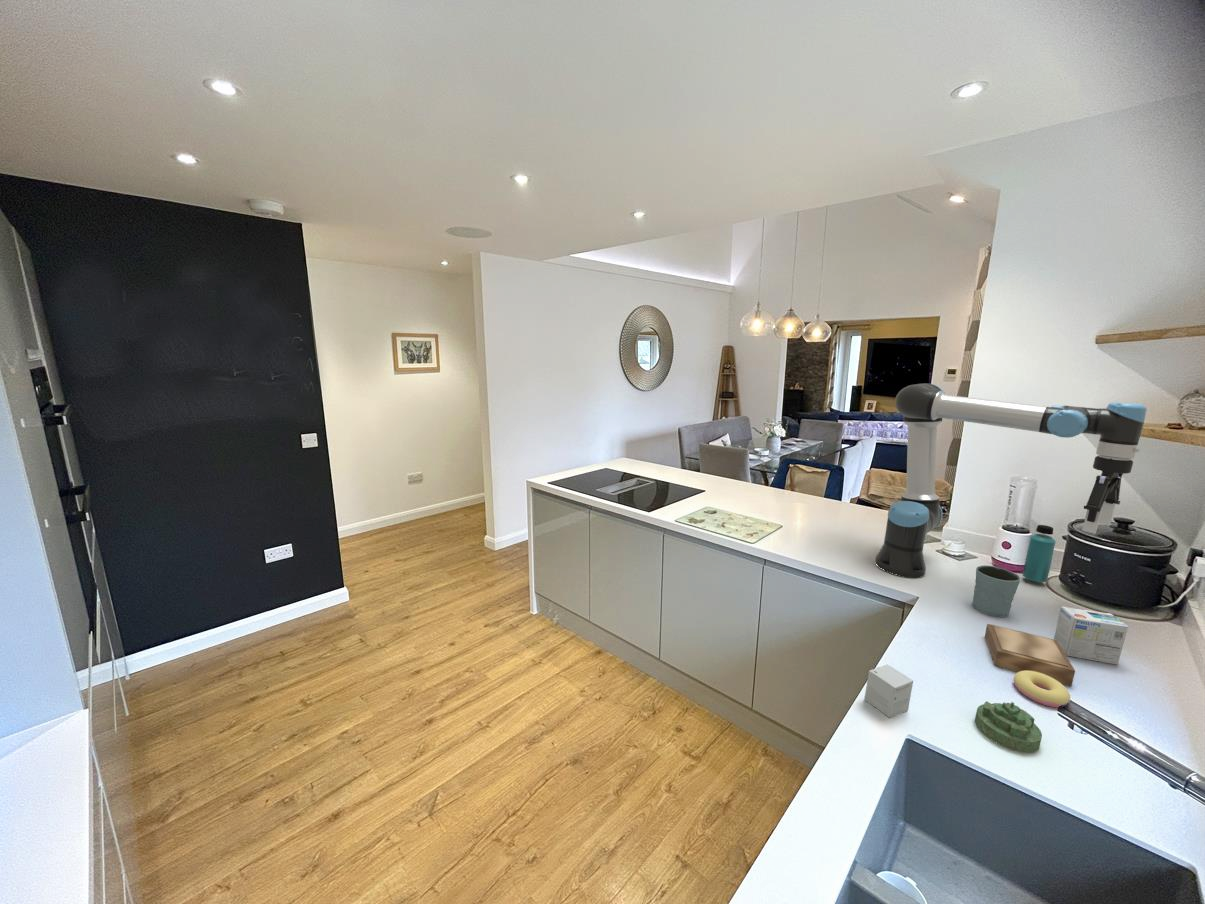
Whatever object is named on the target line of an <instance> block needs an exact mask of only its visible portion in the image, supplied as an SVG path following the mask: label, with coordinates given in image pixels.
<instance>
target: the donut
mask: <svg viewBox="0 0 1205 904" xmlns="http://www.w3.org/2000/svg"><path fill="white" fill-rule="evenodd" d="M1013 683H1014V685H1015V687H1016V689H1017V690H1018V691H1019V692H1020V693H1021V694H1022V695H1024V696H1025V697H1027V699H1030V700H1032V701H1034V702H1035V703H1038V704H1040V705H1044V706H1047V707H1054V708H1060V707H1059V706H1061V705H1063V704H1065V703H1066V702H1069V703H1070V701H1071V694H1070V692H1069V690H1068V689H1067V687H1065V685H1064V684H1061V683H1060V682H1058V681H1057V680H1055V679H1053V678H1052V677H1050V676H1047V675H1045V674H1042V673H1039V672H1035V671H1028V670H1025V671H1020V672H1016V673H1015V674H1014V676H1013Z"/></svg>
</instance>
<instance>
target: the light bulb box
mask: <svg viewBox="0 0 1205 904" xmlns="http://www.w3.org/2000/svg"><path fill="white" fill-rule="evenodd" d="M1128 628H1129V626H1128V624H1125V622H1123V621H1122V620H1120V619H1119V618H1117V617H1116V616H1115V615H1114V614H1113V613H1110V612H1103V611H1094V610H1090V609H1089V610H1087V609H1082V608H1081V609H1080V608H1074V607H1069V606H1068V607H1067V606H1060V609H1059V613H1058V619H1057V621H1056V627H1055V630H1054V631H1055V632H1054V635H1053V636H1054V637H1053V639H1054V640H1057V641H1058V643H1059V645H1060V646H1061V648H1062V650H1063V651H1064V653H1065V655H1066V656H1067V657H1073V658H1079V659H1084V660H1090V661H1096V662H1101V663H1107V664H1112V665H1119V663H1120V662H1119V661H1120V658H1121V655H1122V651H1123V648H1124V647H1123V646H1124V643H1125V639H1126V637H1127V632H1128Z"/></svg>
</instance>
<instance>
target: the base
mask: <svg viewBox="0 0 1205 904" xmlns="http://www.w3.org/2000/svg"><path fill="white" fill-rule="evenodd" d="M985 628H986V629H985V634H984V639H985V643H986V645H987V647H988V651H989V653H990V657H991V659H992V663H993V665H994V666H995V667H1000V668H1002V669H1003V668H1004V669H1006V670H1011V671H1014V672H1016V673H1018V672H1020V671H1025V670H1028V671H1035V672H1039V673H1042V674H1045V675H1047V676H1050V677H1052V678H1053V679H1055V680H1057V681H1058V682H1060V683H1061V684H1062V685H1064V686H1068V687H1069V686H1070V687H1072V686H1073V682H1074V678H1075V674H1076V669H1075V668H1074V666H1073V665H1072V663H1071V662H1070V660H1069V658H1068V656H1066V655H1065V653H1064V651H1063V650H1062V648H1061V646H1060V645H1059V643H1058V641H1057V640H1054V638H1049V637H1045V636H1041V635H1037V634H1032V633H1028V632H1024V631H1019V630H1015V629H1011V628H1008V627H1003V626H1000V625H996V624H991V623H986V627H985Z"/></svg>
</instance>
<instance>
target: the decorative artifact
mask: <svg viewBox="0 0 1205 904" xmlns="http://www.w3.org/2000/svg"><path fill="white" fill-rule="evenodd" d="M974 724H975V726H976V727H977V729H978V730H979V731H980V732H981V733H982V734H983V733H984V734H985V735H986V737H987V738H988V737H989V738H990V740H991V739H992V740H993V741H992V740H991V741H992V742H994V743H996V742H997V743H998V744H997V743H996V744H997V745H999V744H1000V746H1002V747H1003V748H1006V749H1008V750H1011V751H1013V752H1018V753H1023V754H1024V753H1025V754H1031V753H1036V752H1037V751H1038V750H1039V749H1040V746H1041V741H1042V738H1043V734H1042V731H1041V729H1040V728H1039V727H1038V726H1037V724H1036V723H1035V718H1034V717H1033V716H1032V715H1031V714H1030V713H1028V712H1027V711H1026V710H1024V709H1022V708H1021V707H1019V706H1018V705H1016V704H1015V703H1014V702H1013V701H1011V702H1005V701H1004V702H1002V703H1000V702H994V703H990V701H988V700H987V701H985V702H984V703H983V704H980V705H979V706H978V707H977V708H976V713H975V718H974ZM984 734H983V735H984ZM985 735H984V736H985ZM989 738H988V739H989Z"/></svg>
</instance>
